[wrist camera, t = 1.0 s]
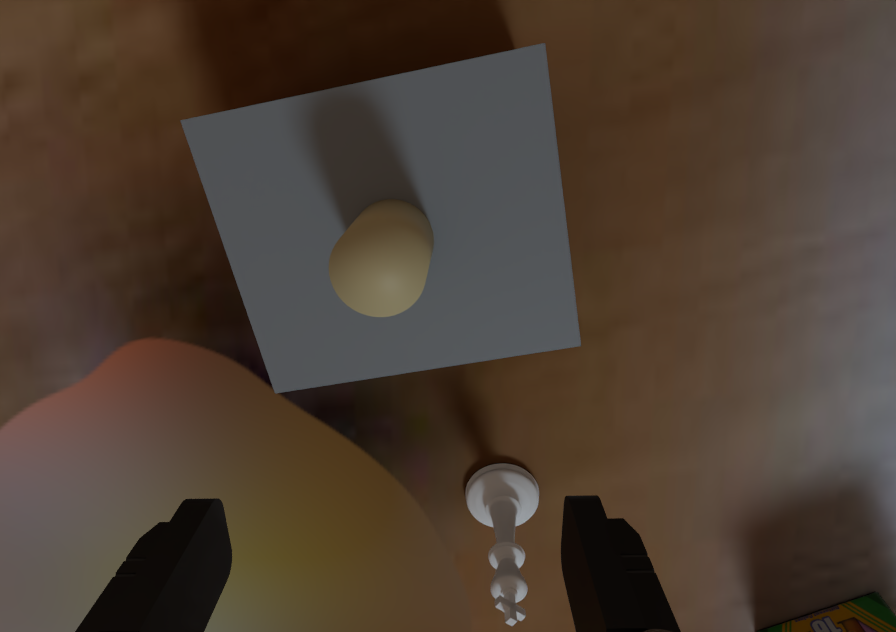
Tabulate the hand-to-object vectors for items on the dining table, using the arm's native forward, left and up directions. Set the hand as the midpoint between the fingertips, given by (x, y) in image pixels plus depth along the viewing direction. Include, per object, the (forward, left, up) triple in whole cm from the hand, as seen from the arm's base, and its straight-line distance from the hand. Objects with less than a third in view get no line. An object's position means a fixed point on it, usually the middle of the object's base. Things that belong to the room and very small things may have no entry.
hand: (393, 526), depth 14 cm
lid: (+1, -3, -15) cm, 15 cm away
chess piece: (-1, +17, -21) cm, 27 cm away
